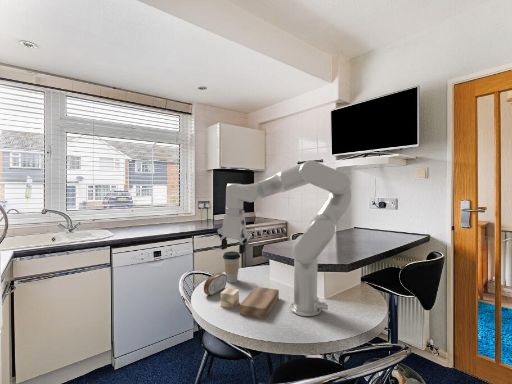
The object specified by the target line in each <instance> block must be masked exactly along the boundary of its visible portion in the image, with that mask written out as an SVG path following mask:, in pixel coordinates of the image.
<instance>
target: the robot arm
mask: <svg viewBox="0 0 512 384" xmlns="http://www.w3.org/2000/svg"><path fill="white" fill-rule="evenodd" d="M351 183H352V182H351V178H350V177H349V176H348V175H347V174H346V173H345V172H342V171H340V170H338V169H334V168H332V167H330V166H327V165H325V164H323V163H320V162H317V161H315V160H312V159H311V160H306V161H305V162H303V163H301V164H298V165H296V166H293V167H289V168H287V169H285V170H282V171H279V172H276V174H274V175H273V176H271V177H269V178H266V179H263V180H260V181H257V182H255V183H249V184H241V183H227V185H226V189H225V214H224V215H223V220H222V226H221V227H220V228H218V229H217V230H216V231H217V233H218V234H217V235H218V237H219V240H220V241H221V243H220V244H221V248H220V249H221V251H223V250H226V249H228V239H234V240H238V242H239V243H240V244H239V245H238V246H239V247H238V253H239V255H242V254H244V253H245V251H246V244H247V243H248V242H249V240H250V238H251V234H250V233H249V232H247V229H246V227H247V225H246V224H247V223H246V219H245V218H246V217H245V215H243V214H246V213H245V212H246V211H245V210H244V202H247V203H253V202H256V201H259V200H261V199H264V198H267V197H270V196H273V195H277V194H279V193H285V192H288V191H291V190H295V189H297V188H300V187H303V186H306V185H308V184H310V185H313V186H315V187H318V188H320V189H322V190H324V191H327V192H329V196H328V198H327V200H326V201H325V203H324V204H323V205H322V207H321V208H320V210H318V211H317V213H316V214H315V216H314V217H312V218H311V221H310V223H309V225H308V227H307V228H306V229H305V231H304V233H303V234H300V235H298V237H296V239H295V240H294V244H293V248H292V254H293V257H294V259H293V260H294V262H293V265H294V266H293V267H294V268H293V270H294V271H293V291H294V292H293V299H294V301H293V302H291V304H290V307H289V308H290V311H291V312H292V313H294V314H295V315H298V316H302V317H313V316H317V315H319V314H321V312H322V310H324V311H326V310H327V311H328V310H329V304H327V303H326V302H323V301H320V300H319V297H318V258H319V256H321V254H322V253H323V252H324V250H325V249H326V247H327V246H328V245H329V243H330V242H331V241H332V240H333V238H334V235H335V233H336V227H337V224H338V223H339V222H340V220H341V219H342V217H343V216H344V214H346V212H347V210H348V208H349V207H350V203H351V201H352V200H351V199H352V189H351V186H352V185H351Z"/></svg>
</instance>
